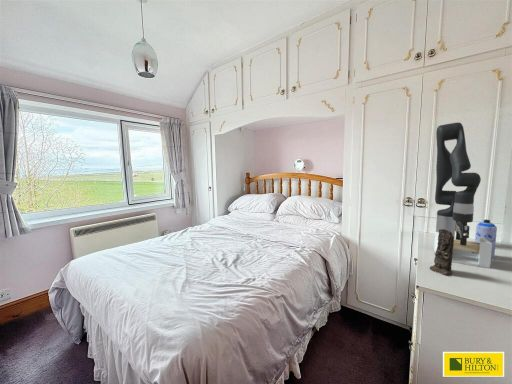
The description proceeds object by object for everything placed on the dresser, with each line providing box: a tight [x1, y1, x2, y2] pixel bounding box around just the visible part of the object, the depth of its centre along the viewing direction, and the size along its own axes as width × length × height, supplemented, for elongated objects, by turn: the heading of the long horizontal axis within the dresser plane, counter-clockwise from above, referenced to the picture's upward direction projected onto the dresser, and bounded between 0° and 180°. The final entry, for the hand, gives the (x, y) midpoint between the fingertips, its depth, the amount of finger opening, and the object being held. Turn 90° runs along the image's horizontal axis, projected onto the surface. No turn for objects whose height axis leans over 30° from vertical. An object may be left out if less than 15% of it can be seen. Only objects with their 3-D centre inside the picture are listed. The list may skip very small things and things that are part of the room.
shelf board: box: [453, 238, 480, 252], centre depth 112 cm, size 6×14×4 cm, turn 53°
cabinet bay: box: [433, 231, 492, 269], centre depth 112 cm, size 12×19×12 cm, turn 58°
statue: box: [429, 229, 455, 276], centre depth 100 cm, size 7×7×20 cm
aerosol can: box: [474, 219, 498, 260], centre depth 115 cm, size 8×8×20 cm
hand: (460, 242), depth 112 cm, fingers open, 8 cm apart
